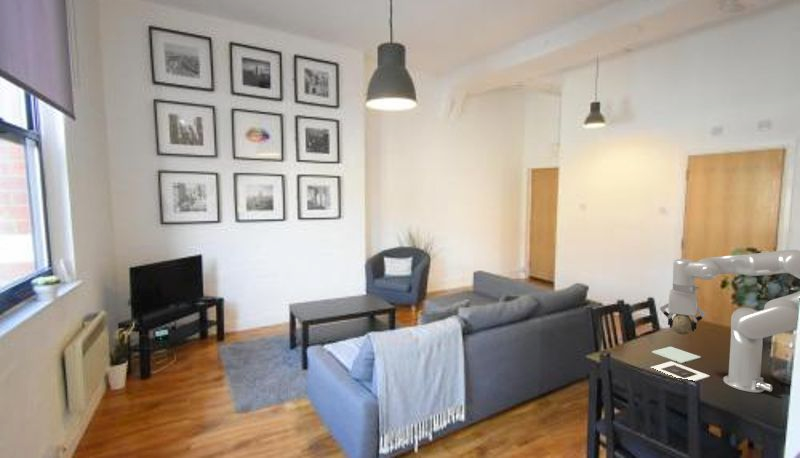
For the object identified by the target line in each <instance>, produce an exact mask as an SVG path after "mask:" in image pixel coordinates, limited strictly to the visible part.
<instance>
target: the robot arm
mask: <svg viewBox="0 0 800 458" xmlns="http://www.w3.org/2000/svg"><path fill="white" fill-rule="evenodd" d="M672 274H673V276H672V289H670V292H669V294H668V303H666V304H664V305H662V306H660V307H659V310H660V311H661V312H662V313H663V314H664V315H665V317H666V318H667V326H669V328H670V329H673V327H672V320H673V317H674V314H675V315H676V314H679V315H687V316H689V317H690V318H691V321H692V330H691V332H695V330H697V325H698V324H697V323H698V322H699V321H701V320H702V319H704V317H706V316H707V313H706V311H704V310H703V309H701V307H699V306H698V294H697V291H699V289H700V287H698V286H696V285H695V282H696V280H695V279H701V280H706V281H711V280H715V279H716V278H717V277H718V276H719V275H724V274H725V275H727V274H729V275H730V274H736V275H737V274H738V275H745V276H752V277H753V276H754V277H755V276H756V277H759V276H767V275H776V274H777V275H778V274H790V275H792V276H794V277H795V278H797V279H799V280H800V250H799V249H798V250H797V249H785V250H776V251H775V250H774V251H766V252H759V253H758V252H757V253H750V254H733V255H723V256H722V255H721V256H712V257H704V258H702V259H700V260H698V261H695V260H692V259H686V258H679V259H675V260H674V261H673V270H672ZM799 298H800V290H799V291H797V292H793V293H791V294H787V295H784V296H780V297H777V298H772V299H771V300H768V301H767V302H766V303H765V304H764V306H763V309H761V310H756V309H754V308H752V307H745V306H744V307H739V308H737V309H736V310H734V311H733V312H732V314H731V316H730V317H731V318H730V343H729V345H730V346H729V363H728V374H727V375H725V376H723V379H722V380H723V382H724V384H726V385H728V386H729V387H731V388H734V389H737V390H739V391H744V392H748V393H762V392H765V391H767V392H772V391H773V385H772V384H770V383H767V382H765V381H764V377H762V376H761V373H762V372H761V370H762V358H763V357H762V356H763V355H762V354H763V341H764V340H763V339H764V338H769V337H772V336H776V335H778V334H779V335H780V334H783V333H786V332H790V331H793V330H795V329H797V328H796V324H797V316H798V305H799ZM666 309H668V310H666ZM667 311H668V312H667ZM698 312H699V315H698Z"/></svg>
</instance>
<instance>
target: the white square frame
mask: <svg viewBox="0 0 800 458" xmlns="http://www.w3.org/2000/svg"><path fill="white" fill-rule="evenodd" d="M672 367H678V368H680V369H683V370H686V371H688V372H691V373H694V375H690V376H688V377H684V376H686V375H689V373H688V372H682V373H681V374H682V375H680V376H679V375H677V374H676V372H677V373H679V372H681V370H679V369H676V368H672ZM652 368H654V369H656V370H655V371H657V370H658V371H657V372H659V371H661V372H660V373H662V372H663V373H662V374H664V373H665V375H667V374H668V375H667V376H669V375H672V376H673V377H672V376H671V377H672V378H674V377H676V378H682V379H688V380H693V381H695V382H699V381H701V380H704V379H707V378H710V377H711V376H710V375H709V374H706V373H705V372H701V371H698V370H695V369H693V368H692V367H691V368H690V367H687V366H686V365H682V364H681V363H678V362H676V361H673V360H670V361H666V362H663V363H661V364H657V365H652V366H650V369H652ZM669 368H671V369H670V372H669V371H667V370H665V369H669ZM654 369H653V370H654ZM671 370H672V372H675V373H672V372H671ZM682 376H683V377H682ZM676 378H675V379H676Z"/></svg>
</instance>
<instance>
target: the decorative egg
mask: <svg viewBox="0 0 800 458" xmlns="http://www.w3.org/2000/svg"><path fill="white" fill-rule="evenodd" d="M692 321H693V320H692V318H691V317H690V316H687V315H679V314H675V315H673V317H672V329H673V331H674V332H675V333H677V334H679V335H682V336H683V335H684V336H685V335H688V334H689V333H690V332H692Z"/></svg>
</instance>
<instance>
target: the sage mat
mask: <svg viewBox="0 0 800 458" xmlns="http://www.w3.org/2000/svg"><path fill="white" fill-rule="evenodd" d="M651 354H654V355H655V354H656V355H658V356H660V357H663V358H665V359H669V360H670V361H673V362H676V361H677V362H676V363H678V364H685V362H686V363H689V362H692V361H696V360H699V359H701V358H702V356H700V355H698V354H694V353H691V352H688V351H684V350H682V349H679V348H676V347H673V346H667V347H663V348H660V349H654V350H652V351H651Z"/></svg>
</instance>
